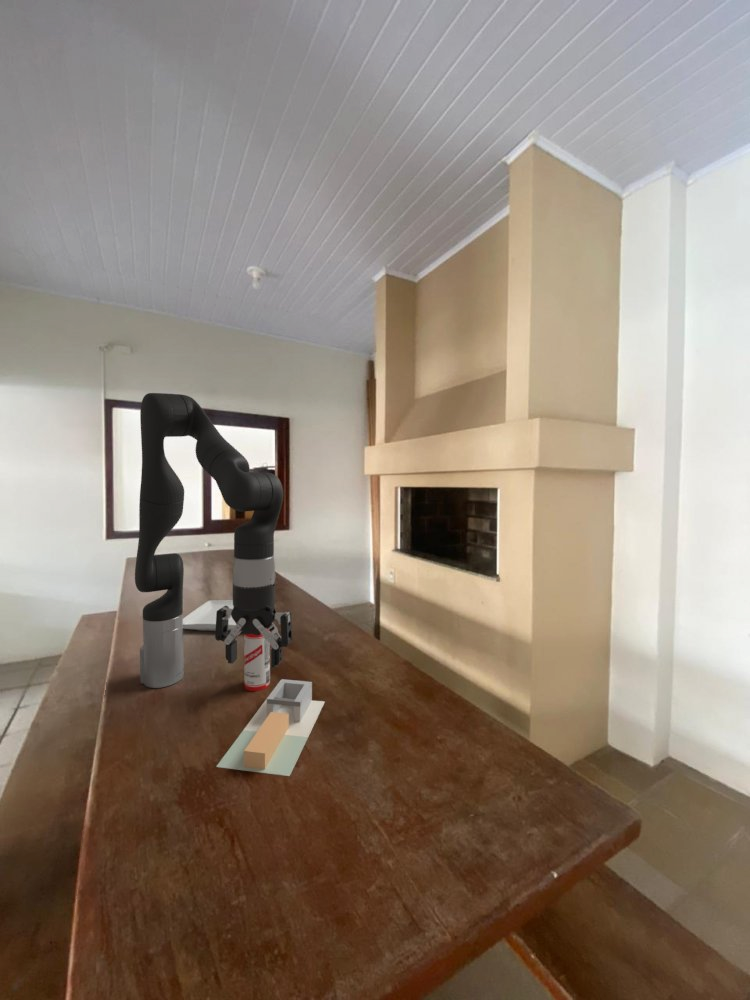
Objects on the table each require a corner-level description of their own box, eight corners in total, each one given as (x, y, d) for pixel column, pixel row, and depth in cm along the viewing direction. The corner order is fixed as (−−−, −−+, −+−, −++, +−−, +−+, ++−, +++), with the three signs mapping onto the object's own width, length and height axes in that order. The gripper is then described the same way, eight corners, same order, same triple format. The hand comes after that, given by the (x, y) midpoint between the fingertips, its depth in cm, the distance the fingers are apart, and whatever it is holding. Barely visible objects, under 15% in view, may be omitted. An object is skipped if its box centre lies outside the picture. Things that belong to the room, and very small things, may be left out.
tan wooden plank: (244, 766, 72) (244, 750, 72) (270, 725, 84) (270, 711, 83) (265, 769, 71) (264, 753, 71) (288, 727, 83) (288, 713, 83)
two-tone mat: (216, 771, 72) (215, 743, 71) (268, 700, 95) (268, 677, 94) (289, 781, 70) (289, 751, 69) (324, 705, 93) (325, 683, 92)
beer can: (262, 696, 96) (262, 632, 95) (239, 693, 98) (239, 630, 97) (274, 683, 102) (274, 623, 101) (252, 680, 104) (252, 621, 103)
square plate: (254, 636, 133) (254, 625, 133) (174, 634, 134) (173, 623, 133) (275, 609, 160) (275, 600, 160) (208, 608, 161) (208, 598, 160)
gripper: (207, 582, 70) (207, 670, 71) (283, 588, 68) (282, 678, 69) (228, 572, 78) (228, 651, 79) (297, 576, 76) (296, 658, 77)
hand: (253, 663), depth 74 cm, fingers open, 8 cm apart
